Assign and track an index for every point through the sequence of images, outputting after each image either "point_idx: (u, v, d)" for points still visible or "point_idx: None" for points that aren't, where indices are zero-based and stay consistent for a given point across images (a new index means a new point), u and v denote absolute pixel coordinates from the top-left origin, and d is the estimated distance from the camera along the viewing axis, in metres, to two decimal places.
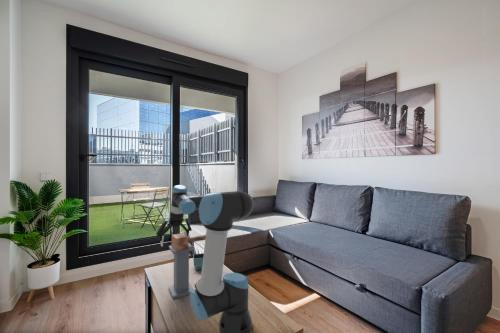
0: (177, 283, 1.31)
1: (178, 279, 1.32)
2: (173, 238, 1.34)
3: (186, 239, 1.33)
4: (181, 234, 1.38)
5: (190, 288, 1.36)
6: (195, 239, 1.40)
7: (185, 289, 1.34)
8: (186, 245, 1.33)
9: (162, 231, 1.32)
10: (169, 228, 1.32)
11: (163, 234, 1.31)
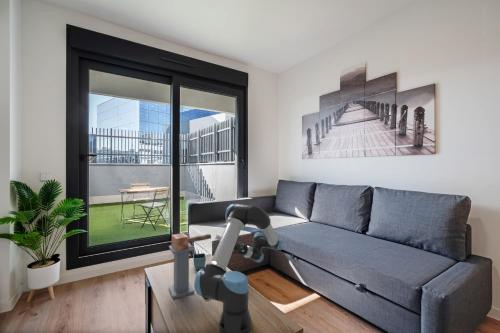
0: (177, 283, 1.31)
1: (178, 279, 1.32)
2: (173, 238, 1.34)
3: (186, 239, 1.33)
4: (181, 234, 1.38)
5: (190, 288, 1.36)
6: (195, 239, 1.40)
7: (185, 289, 1.34)
8: (186, 245, 1.33)
9: None
10: None
11: None
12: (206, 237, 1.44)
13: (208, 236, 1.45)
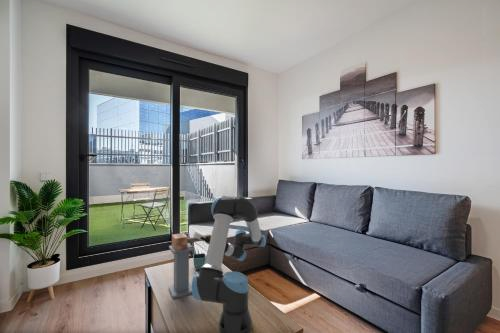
0: (177, 283, 1.31)
1: (178, 279, 1.32)
2: (173, 238, 1.35)
3: (185, 239, 1.33)
4: (181, 234, 1.38)
5: (190, 288, 1.36)
6: (195, 239, 1.39)
7: (185, 289, 1.34)
8: (185, 245, 1.33)
9: None
10: None
11: None
12: None
13: (208, 237, 1.43)
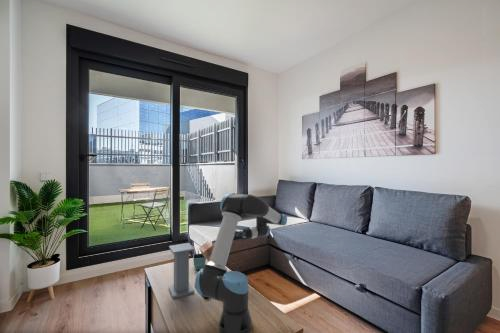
0: (177, 283, 1.31)
1: (178, 279, 1.32)
2: (201, 251, 1.43)
3: (212, 248, 1.41)
4: (206, 244, 1.46)
5: (190, 288, 1.36)
6: None
7: (185, 289, 1.34)
8: None
9: None
10: (235, 232, 1.56)
11: None
12: None
13: None
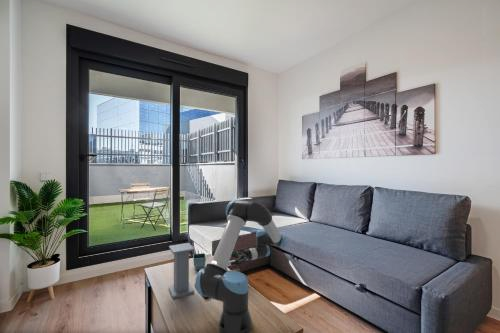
0: (177, 283, 1.31)
1: (178, 279, 1.32)
2: None
3: None
4: None
5: (190, 288, 1.36)
6: None
7: (185, 289, 1.34)
8: None
9: None
10: (234, 253, 1.58)
11: None
12: None
13: None
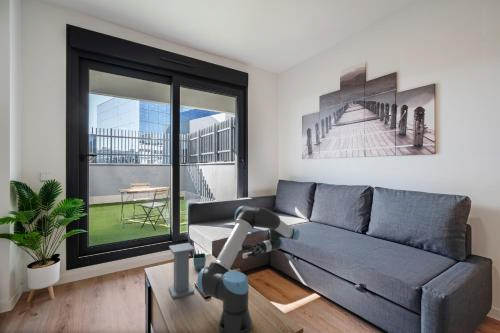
0: (177, 283, 1.31)
1: (178, 279, 1.32)
2: None
3: None
4: None
5: (190, 288, 1.36)
6: None
7: (185, 289, 1.34)
8: None
9: None
10: (249, 246, 1.64)
11: (243, 245, 1.65)
12: None
13: None
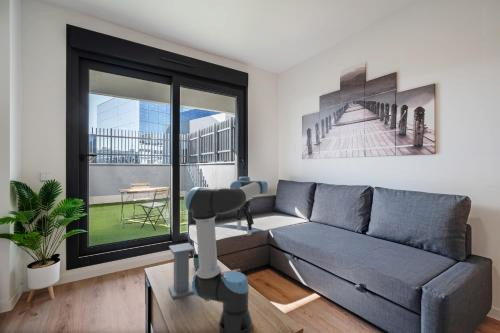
0: (177, 283, 1.31)
1: (178, 279, 1.32)
2: None
3: None
4: None
5: (190, 288, 1.36)
6: None
7: (185, 289, 1.34)
8: None
9: None
10: (239, 214, 1.54)
11: (237, 218, 1.57)
12: None
13: (238, 271, 1.53)
